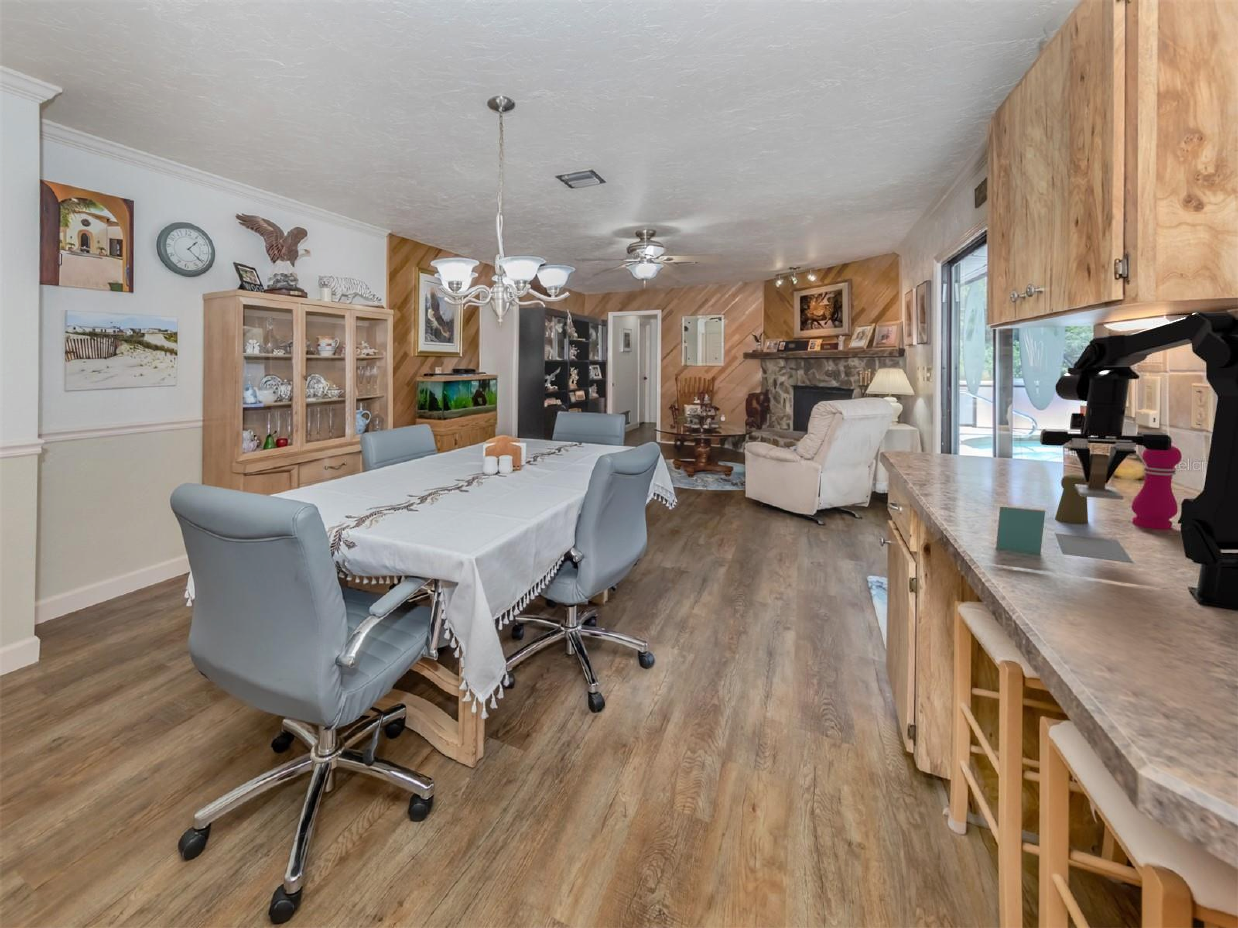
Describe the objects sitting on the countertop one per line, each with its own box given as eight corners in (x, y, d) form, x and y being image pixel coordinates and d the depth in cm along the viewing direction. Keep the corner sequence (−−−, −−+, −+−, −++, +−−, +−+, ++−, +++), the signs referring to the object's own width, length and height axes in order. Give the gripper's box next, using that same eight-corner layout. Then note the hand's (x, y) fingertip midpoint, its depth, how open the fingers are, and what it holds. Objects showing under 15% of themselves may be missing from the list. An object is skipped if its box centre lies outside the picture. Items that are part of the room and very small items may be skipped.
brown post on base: (1122, 499, 101) (1128, 462, 100) (1080, 496, 104) (1085, 459, 103) (1113, 490, 108) (1118, 455, 107) (1074, 487, 112) (1078, 453, 110)
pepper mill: (1159, 533, 116) (1173, 440, 113) (1120, 524, 123) (1132, 436, 120) (1183, 530, 118) (1197, 438, 115) (1143, 521, 125) (1155, 434, 122)
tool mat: (1133, 565, 99) (1133, 562, 99) (1062, 556, 105) (1062, 553, 105) (1117, 542, 112) (1117, 540, 111) (1054, 535, 117) (1054, 533, 117)
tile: (1040, 556, 105) (1045, 511, 103) (995, 551, 109) (1000, 506, 107) (1039, 554, 106) (1044, 509, 104) (995, 549, 110) (999, 505, 108)
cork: (1048, 521, 127) (1053, 474, 125) (1063, 517, 130) (1068, 471, 128) (1079, 527, 122) (1084, 479, 120) (1094, 523, 124) (1100, 476, 122)
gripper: (1161, 400, 107) (1150, 479, 110) (1041, 399, 117) (1034, 471, 120) (1178, 404, 98) (1165, 490, 101) (1046, 403, 108) (1038, 481, 111)
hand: (1096, 482), depth 108 cm, fingers closed on brown post on base, 2 cm apart
